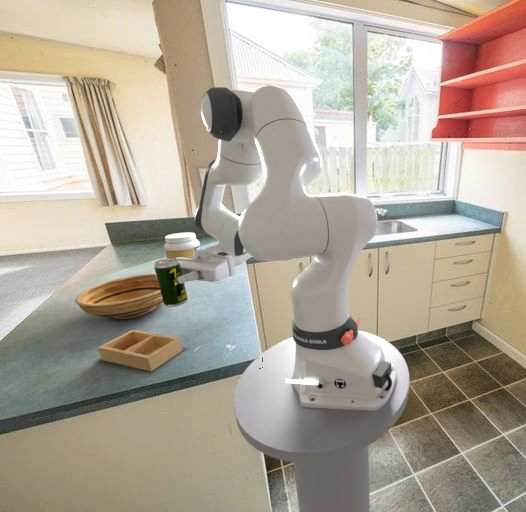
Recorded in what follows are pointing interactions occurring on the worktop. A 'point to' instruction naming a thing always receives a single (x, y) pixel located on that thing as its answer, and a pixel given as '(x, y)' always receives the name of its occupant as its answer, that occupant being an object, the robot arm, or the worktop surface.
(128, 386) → the worktop surface
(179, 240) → the supplement tub
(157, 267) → the beer can
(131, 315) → the tan oval bowl
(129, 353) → the socket base
